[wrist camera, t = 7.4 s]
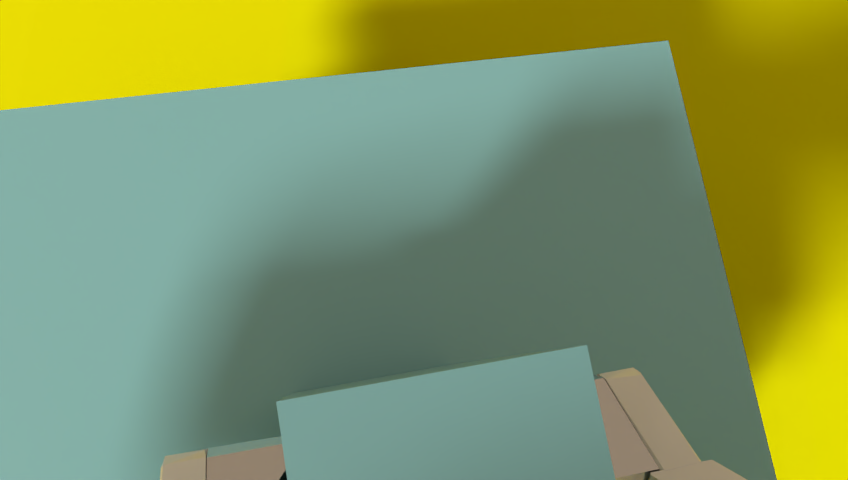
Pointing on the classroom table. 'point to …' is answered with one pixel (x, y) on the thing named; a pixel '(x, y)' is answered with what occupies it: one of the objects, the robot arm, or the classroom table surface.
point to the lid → (366, 274)
